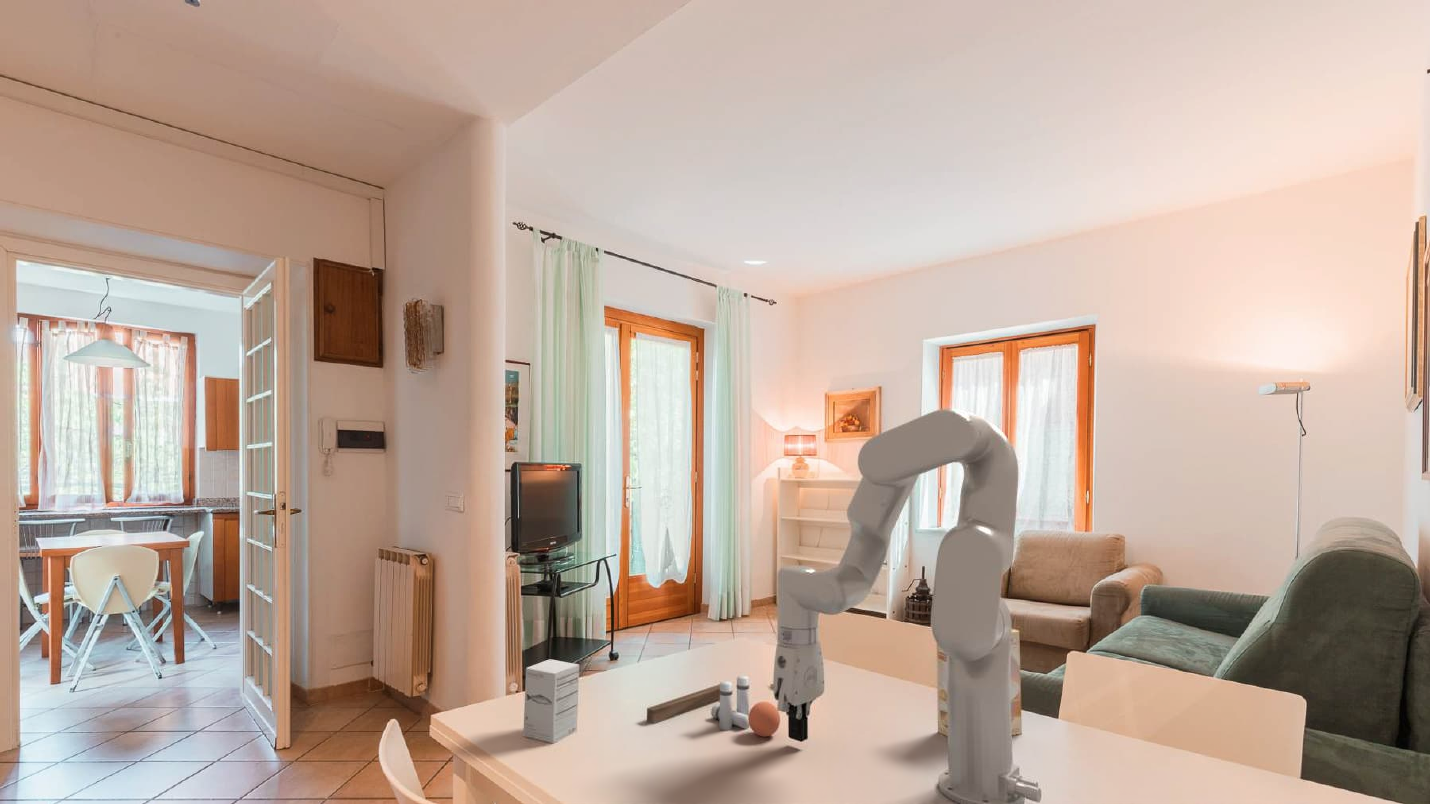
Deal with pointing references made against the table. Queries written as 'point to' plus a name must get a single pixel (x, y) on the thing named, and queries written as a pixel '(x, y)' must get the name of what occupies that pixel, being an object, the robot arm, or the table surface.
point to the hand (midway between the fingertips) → (798, 738)
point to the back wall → (683, 704)
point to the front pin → (737, 717)
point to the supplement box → (551, 700)
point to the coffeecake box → (1015, 687)
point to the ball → (764, 719)
